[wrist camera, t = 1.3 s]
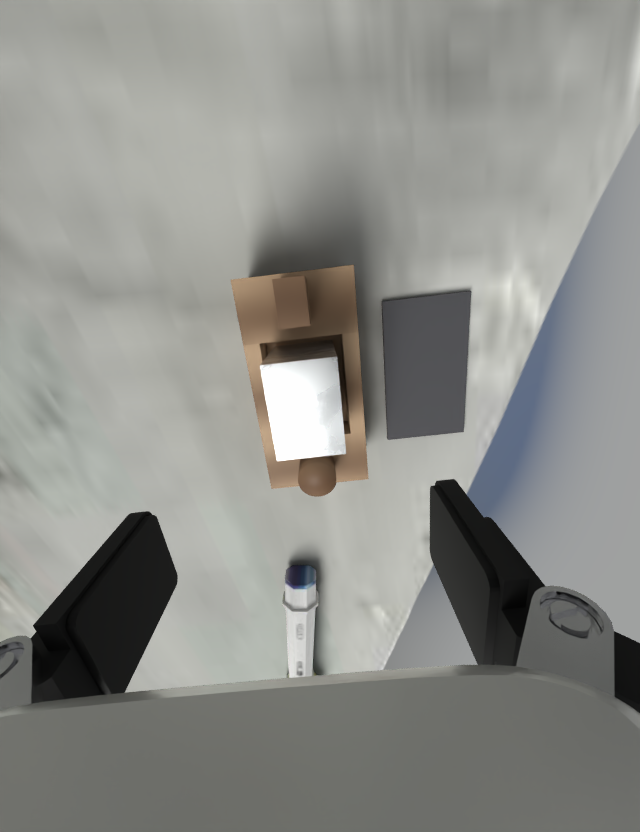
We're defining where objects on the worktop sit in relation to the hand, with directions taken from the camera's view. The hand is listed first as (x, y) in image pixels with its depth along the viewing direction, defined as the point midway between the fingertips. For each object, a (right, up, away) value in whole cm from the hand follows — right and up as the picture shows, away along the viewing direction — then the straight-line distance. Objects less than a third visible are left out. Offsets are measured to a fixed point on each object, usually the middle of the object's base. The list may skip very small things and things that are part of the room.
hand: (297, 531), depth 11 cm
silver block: (0, +7, +18) cm, 20 cm away
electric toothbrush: (-2, -27, +35) cm, 44 cm away
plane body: (0, +8, +21) cm, 23 cm away
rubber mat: (+11, +8, +21) cm, 25 cm away
